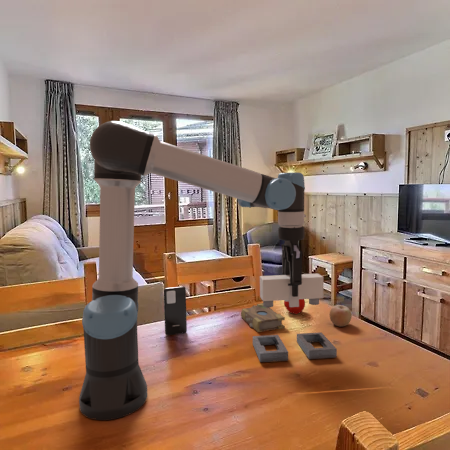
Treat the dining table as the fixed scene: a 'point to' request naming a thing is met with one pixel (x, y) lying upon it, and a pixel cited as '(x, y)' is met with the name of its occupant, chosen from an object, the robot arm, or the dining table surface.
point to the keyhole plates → (302, 340)
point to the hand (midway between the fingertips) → (291, 303)
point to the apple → (295, 309)
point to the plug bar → (279, 289)
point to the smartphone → (175, 310)
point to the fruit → (340, 315)
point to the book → (262, 318)
